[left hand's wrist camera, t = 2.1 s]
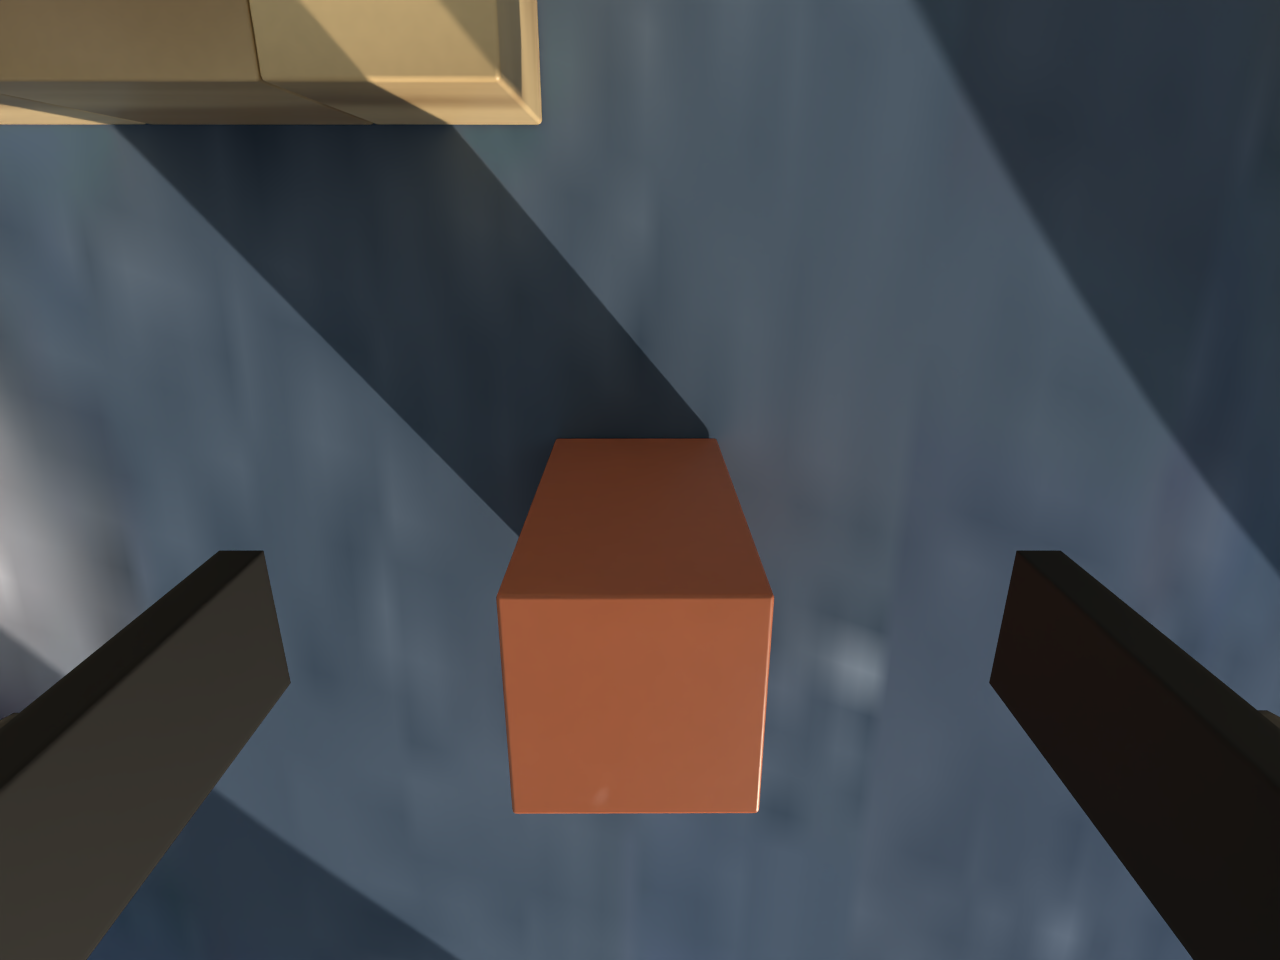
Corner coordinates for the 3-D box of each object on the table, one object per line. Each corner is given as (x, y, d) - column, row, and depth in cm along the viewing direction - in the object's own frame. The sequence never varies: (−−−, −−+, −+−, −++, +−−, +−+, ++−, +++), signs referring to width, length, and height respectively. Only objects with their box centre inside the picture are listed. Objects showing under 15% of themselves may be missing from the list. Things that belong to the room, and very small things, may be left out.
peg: (711, 581, 19) (759, 814, 12) (561, 582, 19) (511, 815, 12) (716, 438, 18) (775, 595, 10) (555, 438, 18) (495, 595, 10)
